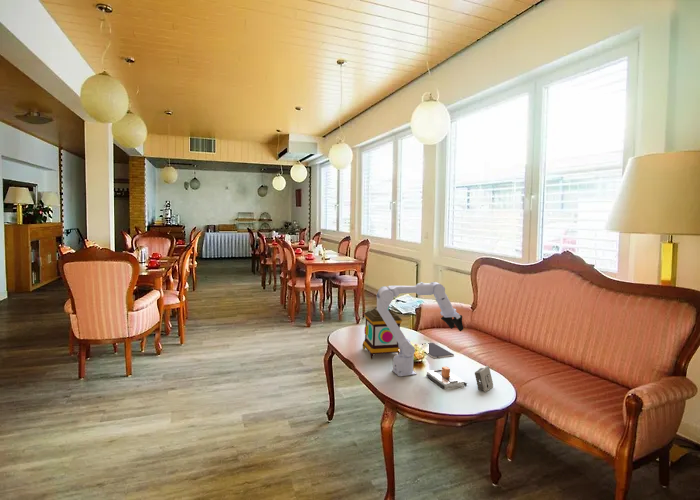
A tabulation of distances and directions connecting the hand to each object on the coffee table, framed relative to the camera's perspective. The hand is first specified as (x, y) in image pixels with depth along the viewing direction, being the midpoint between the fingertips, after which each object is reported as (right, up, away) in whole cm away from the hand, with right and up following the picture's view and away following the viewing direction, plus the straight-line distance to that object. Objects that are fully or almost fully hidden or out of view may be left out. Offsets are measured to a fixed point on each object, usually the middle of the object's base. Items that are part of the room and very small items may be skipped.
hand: (457, 328), depth 201 cm
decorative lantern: (-35, -19, +27) cm, 48 cm away
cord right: (-2, -22, -7) cm, 24 cm away
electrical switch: (+8, -24, -16) cm, 30 cm away
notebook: (-5, -19, +32) cm, 38 cm away
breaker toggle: (-8, -20, -10) cm, 24 cm away
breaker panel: (-8, -23, -10) cm, 26 cm away
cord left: (-13, -23, -11) cm, 28 cm away
